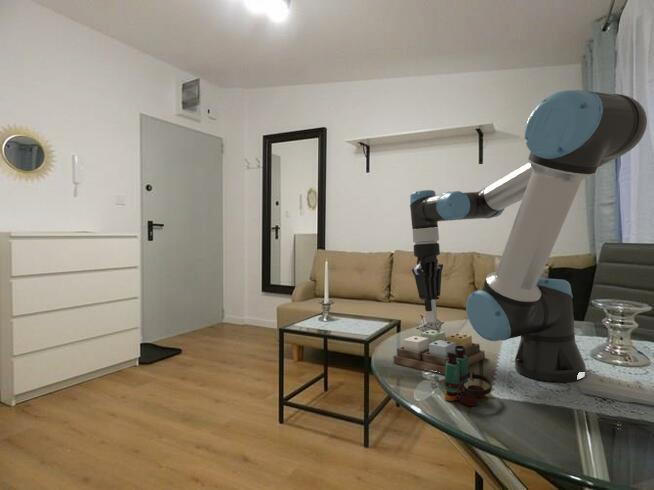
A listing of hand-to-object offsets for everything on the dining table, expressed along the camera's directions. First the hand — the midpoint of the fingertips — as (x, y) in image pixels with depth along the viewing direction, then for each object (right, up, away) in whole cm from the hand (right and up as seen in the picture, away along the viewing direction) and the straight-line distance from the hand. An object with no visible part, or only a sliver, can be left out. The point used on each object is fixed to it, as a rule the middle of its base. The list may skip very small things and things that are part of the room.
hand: (431, 321), depth 115 cm
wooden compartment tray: (0, -10, -6) cm, 12 cm away
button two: (0, -7, -12) cm, 14 cm away
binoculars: (-1, -11, -32) cm, 34 cm away
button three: (+1, -6, 0) cm, 6 cm away
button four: (+6, -6, -6) cm, 11 cm away
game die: (+5, -10, +19) cm, 22 cm away
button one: (-6, -7, -6) cm, 11 cm away
